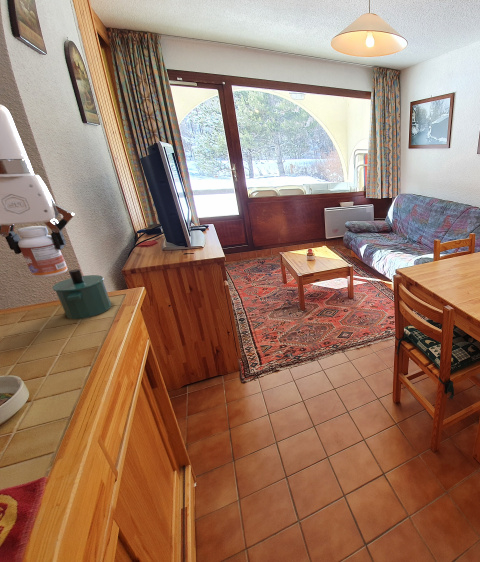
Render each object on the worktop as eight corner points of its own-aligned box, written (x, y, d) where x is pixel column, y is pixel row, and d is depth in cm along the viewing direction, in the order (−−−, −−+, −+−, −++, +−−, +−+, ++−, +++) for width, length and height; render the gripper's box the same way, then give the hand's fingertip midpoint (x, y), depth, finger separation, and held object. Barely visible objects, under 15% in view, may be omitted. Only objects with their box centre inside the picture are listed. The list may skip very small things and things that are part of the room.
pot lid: (48, 297, 80) (40, 280, 78) (60, 282, 88) (54, 267, 86) (100, 289, 85) (94, 273, 83) (107, 276, 93) (102, 261, 91)
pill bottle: (32, 273, 74) (11, 227, 70) (67, 267, 78) (49, 223, 74) (33, 280, 70) (11, 233, 66) (69, 273, 74) (51, 228, 70)
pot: (59, 326, 81) (46, 298, 78) (74, 303, 93) (63, 277, 90) (106, 317, 86) (96, 290, 82) (115, 296, 98) (106, 272, 94)
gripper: (-69, 170, 58) (-22, 260, 65) (56, 169, 66) (85, 249, 73) (-46, 167, 64) (-5, 251, 71) (66, 167, 72) (92, 241, 79)
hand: (41, 249), depth 72 cm, fingers closed on pill bottle, 6 cm apart
